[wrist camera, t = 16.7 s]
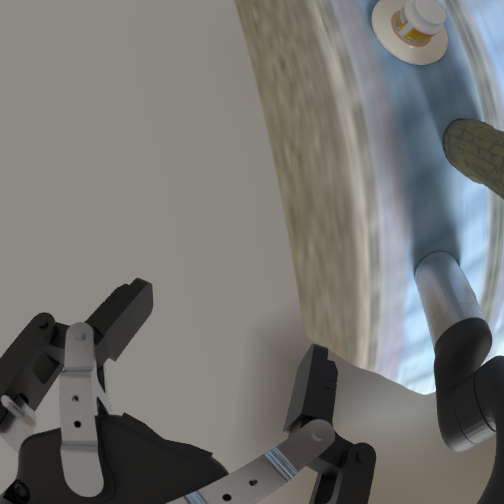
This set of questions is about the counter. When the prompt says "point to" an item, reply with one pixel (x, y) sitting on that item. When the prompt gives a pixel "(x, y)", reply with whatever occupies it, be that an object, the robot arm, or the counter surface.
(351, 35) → the counter surface
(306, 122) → the counter surface
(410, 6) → the supplement bottle
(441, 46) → the coaster
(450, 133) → the thermos
